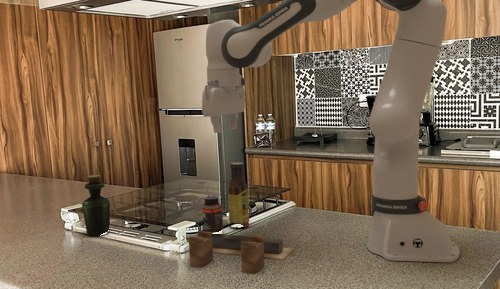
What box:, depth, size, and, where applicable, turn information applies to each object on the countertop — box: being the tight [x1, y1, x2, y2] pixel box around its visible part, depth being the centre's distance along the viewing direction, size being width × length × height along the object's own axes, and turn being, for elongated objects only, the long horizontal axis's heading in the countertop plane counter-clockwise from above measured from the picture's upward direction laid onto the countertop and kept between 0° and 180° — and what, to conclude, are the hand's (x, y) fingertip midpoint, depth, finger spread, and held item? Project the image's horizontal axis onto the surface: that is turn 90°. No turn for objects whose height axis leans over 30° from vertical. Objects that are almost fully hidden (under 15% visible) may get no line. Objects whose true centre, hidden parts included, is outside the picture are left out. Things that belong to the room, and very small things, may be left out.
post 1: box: [188, 230, 214, 268], centre depth 127 cm, size 4×5×7 cm, turn 157°
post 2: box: [240, 235, 265, 274], centre depth 121 cm, size 4×5×7 cm, turn 157°
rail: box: [212, 233, 284, 255], centre depth 135 cm, size 20×3×3 cm, turn 67°
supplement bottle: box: [201, 195, 224, 232], centre depth 150 cm, size 6×6×11 cm
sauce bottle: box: [227, 162, 250, 228], centre depth 157 cm, size 7×6×20 cm
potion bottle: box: [81, 174, 111, 238], centre depth 155 cm, size 8×8×18 cm
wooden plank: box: [212, 247, 294, 261], centre depth 135 cm, size 24×8×1 cm, turn 67°
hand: (225, 130), depth 141 cm, fingers open, 8 cm apart
